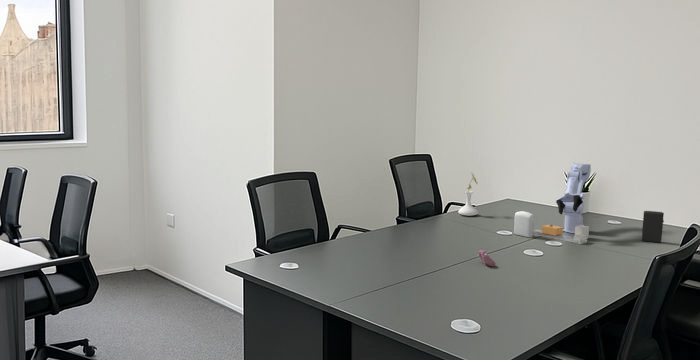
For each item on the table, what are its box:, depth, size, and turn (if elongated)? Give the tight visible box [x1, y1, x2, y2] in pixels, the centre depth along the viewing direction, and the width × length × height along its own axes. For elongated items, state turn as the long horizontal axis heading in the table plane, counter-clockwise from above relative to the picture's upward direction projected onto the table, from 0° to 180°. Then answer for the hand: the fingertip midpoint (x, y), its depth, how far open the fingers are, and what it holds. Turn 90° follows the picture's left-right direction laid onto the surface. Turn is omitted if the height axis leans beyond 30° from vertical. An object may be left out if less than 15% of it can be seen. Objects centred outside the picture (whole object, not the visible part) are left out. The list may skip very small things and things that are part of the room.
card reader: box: [641, 210, 665, 244], centre depth 338 cm, size 9×4×15 cm, turn 65°
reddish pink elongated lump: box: [477, 249, 497, 268], centre depth 293 cm, size 10×5×7 cm, turn 5°
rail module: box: [574, 224, 590, 239], centre depth 344 cm, size 6×4×6 cm, turn 130°
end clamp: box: [541, 224, 564, 236], centre depth 346 cm, size 6×8×4 cm
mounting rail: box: [533, 228, 588, 245], centre depth 344 cm, size 6×29×4 cm, turn 40°
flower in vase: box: [457, 171, 479, 217], centre depth 398 cm, size 13×11×25 cm
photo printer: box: [513, 210, 535, 238], centre depth 347 cm, size 10×4×12 cm, turn 39°
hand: (567, 211), depth 340 cm, fingers open, 7 cm apart
